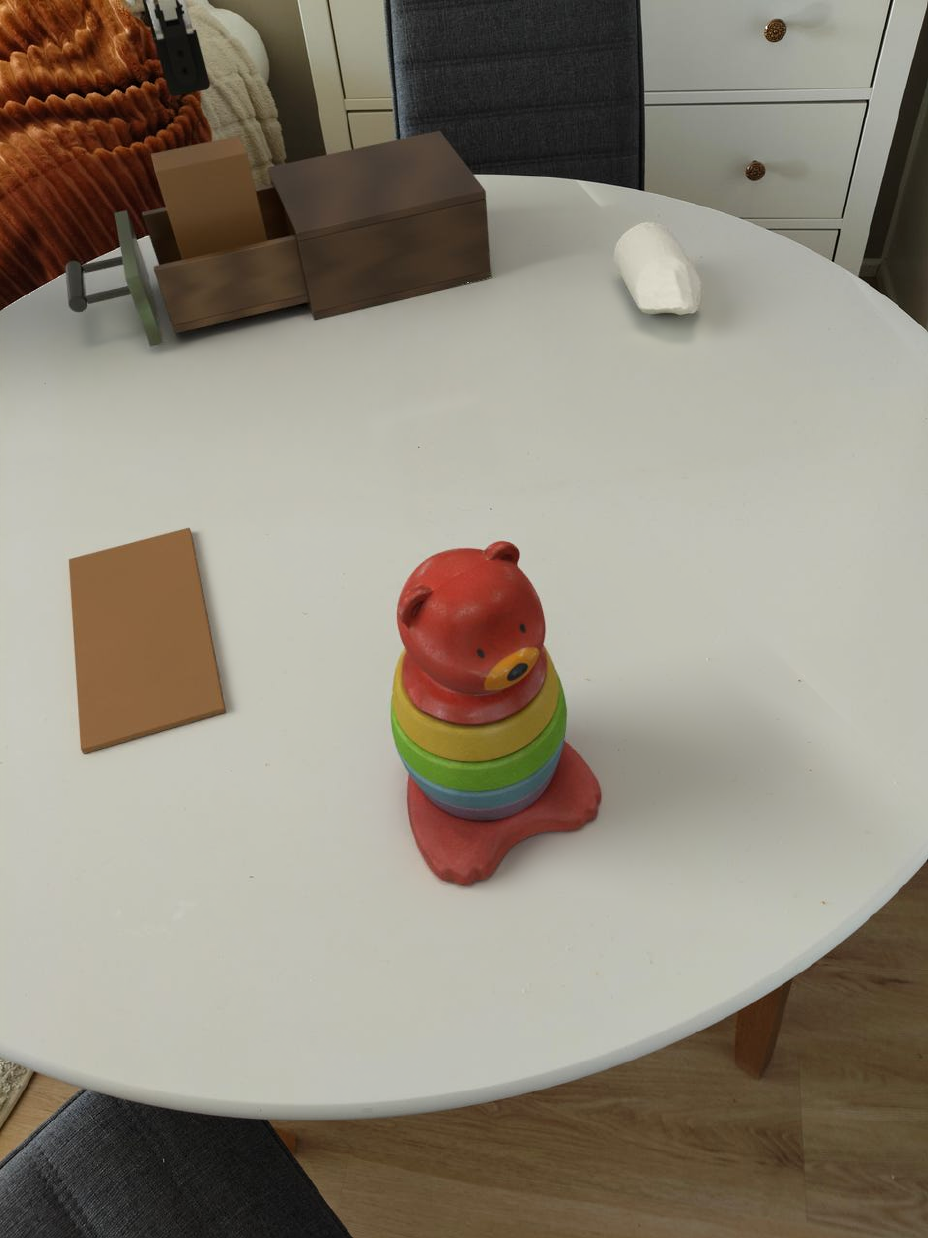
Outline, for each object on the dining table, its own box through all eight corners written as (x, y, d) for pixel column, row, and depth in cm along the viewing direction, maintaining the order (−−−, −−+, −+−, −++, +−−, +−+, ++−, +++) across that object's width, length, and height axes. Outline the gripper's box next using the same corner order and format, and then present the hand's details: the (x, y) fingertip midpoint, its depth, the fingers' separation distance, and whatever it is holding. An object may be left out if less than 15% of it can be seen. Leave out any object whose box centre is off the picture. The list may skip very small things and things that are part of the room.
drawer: (86, 361, 90) (57, 293, 85) (79, 291, 99) (52, 225, 94) (324, 305, 93) (310, 236, 88) (297, 241, 102) (283, 175, 97)
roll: (645, 350, 86) (650, 291, 82) (611, 281, 94) (613, 223, 90) (713, 340, 86) (721, 280, 82) (673, 271, 94) (678, 214, 90)
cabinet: (314, 320, 93) (295, 232, 87) (285, 250, 103) (267, 166, 96) (491, 277, 96) (486, 190, 90) (447, 213, 105) (439, 130, 99)
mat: (71, 563, 73) (68, 559, 73) (191, 531, 75) (189, 527, 74) (83, 754, 62) (80, 749, 61) (226, 712, 63) (224, 707, 63)
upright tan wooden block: (194, 298, 94) (155, 171, 85) (189, 278, 96) (150, 153, 88) (277, 279, 95) (246, 152, 86) (269, 260, 98) (239, 134, 89)
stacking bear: (447, 901, 53) (406, 700, 40) (369, 765, 59) (312, 552, 46) (616, 811, 56) (630, 595, 43) (525, 690, 62) (513, 469, 49)
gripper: (51, -211, 73) (128, 45, 85) (57, -170, 61) (146, 118, 74) (153, -227, 74) (215, 28, 86) (178, -189, 62) (245, 98, 75)
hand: (183, 69), depth 80 cm, fingers open, 9 cm apart
